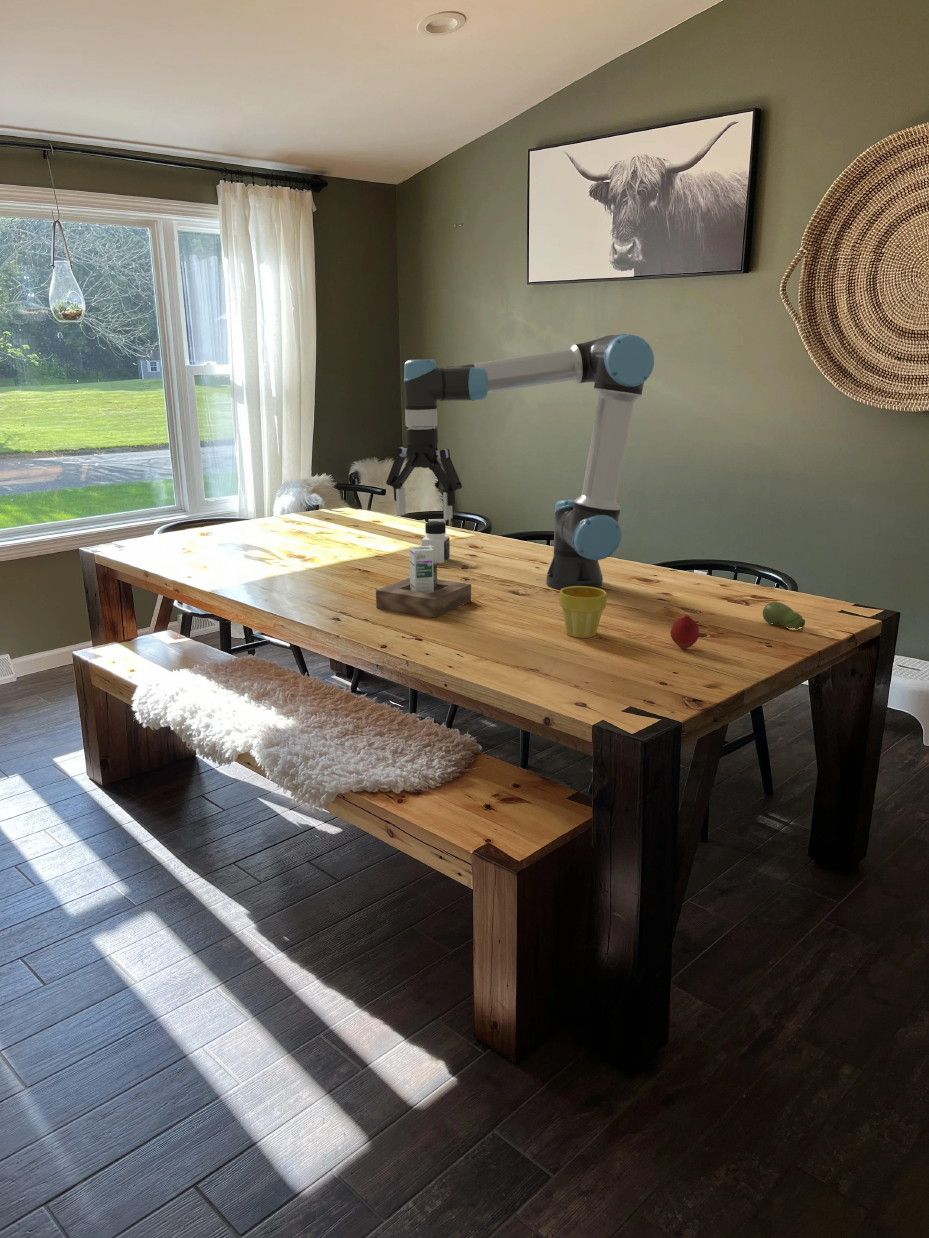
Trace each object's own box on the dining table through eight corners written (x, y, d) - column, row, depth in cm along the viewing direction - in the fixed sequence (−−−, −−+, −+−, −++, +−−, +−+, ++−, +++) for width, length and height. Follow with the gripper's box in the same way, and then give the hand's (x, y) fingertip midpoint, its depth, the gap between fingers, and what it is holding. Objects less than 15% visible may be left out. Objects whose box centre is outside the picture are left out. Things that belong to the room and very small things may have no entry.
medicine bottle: (444, 563, 266) (444, 524, 262) (421, 562, 267) (420, 523, 264) (449, 558, 273) (449, 519, 269) (427, 557, 274) (426, 519, 271)
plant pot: (612, 631, 201) (614, 589, 198) (594, 643, 192) (595, 599, 190) (569, 624, 206) (571, 583, 203) (550, 636, 197) (551, 593, 195)
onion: (693, 644, 191) (696, 609, 189) (701, 653, 186) (704, 616, 184) (666, 645, 191) (668, 609, 189) (673, 653, 186) (676, 616, 183)
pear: (775, 596, 208) (812, 613, 201) (770, 617, 210) (806, 634, 203) (760, 600, 205) (798, 617, 198) (755, 621, 207) (791, 638, 200)
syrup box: (415, 608, 219) (414, 550, 215) (410, 602, 225) (409, 545, 220) (437, 606, 221) (437, 549, 217) (432, 600, 226) (431, 544, 222)
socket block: (471, 601, 225) (471, 584, 224) (434, 617, 211) (434, 599, 210) (415, 592, 234) (415, 575, 232) (376, 607, 220) (375, 590, 218)
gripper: (475, 427, 207) (476, 518, 213) (388, 425, 220) (391, 510, 226) (458, 430, 201) (460, 523, 207) (369, 427, 213) (373, 515, 219)
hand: (424, 517), depth 216 cm, fingers open, 13 cm apart
